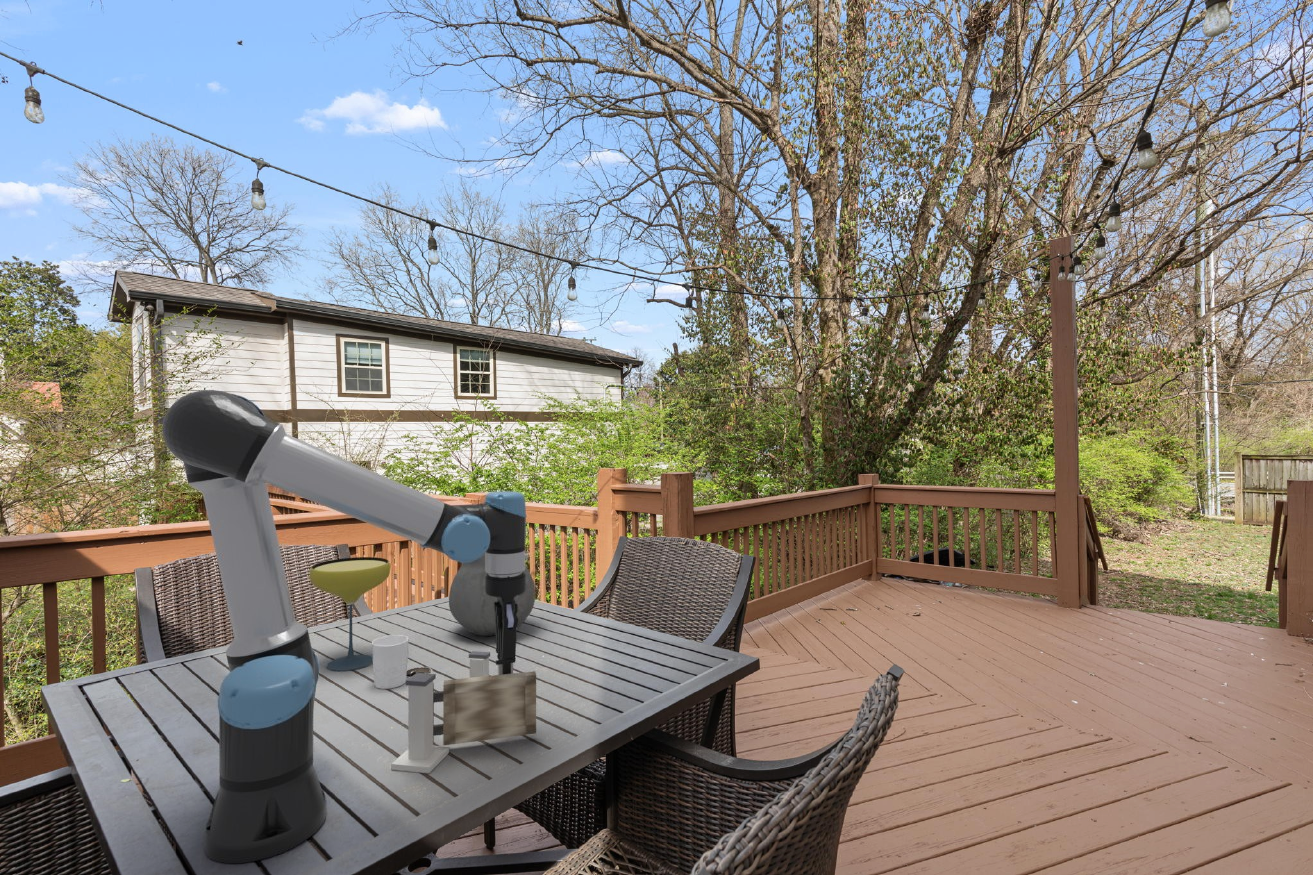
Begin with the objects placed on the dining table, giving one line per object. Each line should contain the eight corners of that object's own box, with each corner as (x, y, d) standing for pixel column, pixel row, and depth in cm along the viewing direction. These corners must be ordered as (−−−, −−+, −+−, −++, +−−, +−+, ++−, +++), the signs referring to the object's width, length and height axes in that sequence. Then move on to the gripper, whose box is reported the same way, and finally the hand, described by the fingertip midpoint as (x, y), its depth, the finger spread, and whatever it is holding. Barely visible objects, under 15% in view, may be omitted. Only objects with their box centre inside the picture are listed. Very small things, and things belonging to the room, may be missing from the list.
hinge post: (429, 773, 106) (429, 686, 106) (391, 769, 107) (391, 683, 107) (449, 752, 113) (449, 671, 113) (413, 749, 114) (413, 668, 114)
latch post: (486, 710, 130) (486, 659, 130) (459, 708, 131) (459, 657, 131) (498, 698, 136) (498, 649, 136) (472, 696, 137) (472, 647, 137)
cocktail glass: (315, 655, 162) (315, 559, 162) (391, 647, 169) (391, 554, 169) (303, 681, 146) (303, 574, 145) (388, 671, 152) (388, 568, 152)
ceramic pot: (449, 623, 190) (449, 541, 190) (530, 617, 197) (530, 537, 197) (448, 650, 167) (448, 556, 167) (540, 641, 174) (540, 551, 174)
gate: (423, 747, 112) (423, 686, 112) (424, 742, 114) (424, 682, 114) (536, 733, 118) (536, 675, 117) (535, 728, 119) (535, 671, 119)
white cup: (395, 691, 140) (395, 647, 140) (364, 688, 142) (364, 644, 142) (415, 678, 148) (415, 635, 148) (385, 675, 149) (385, 633, 149)
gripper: (531, 578, 115) (531, 705, 116) (519, 564, 127) (519, 679, 128) (490, 582, 112) (489, 712, 113) (481, 567, 124) (481, 685, 125)
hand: (505, 694), depth 120 cm, fingers closed
